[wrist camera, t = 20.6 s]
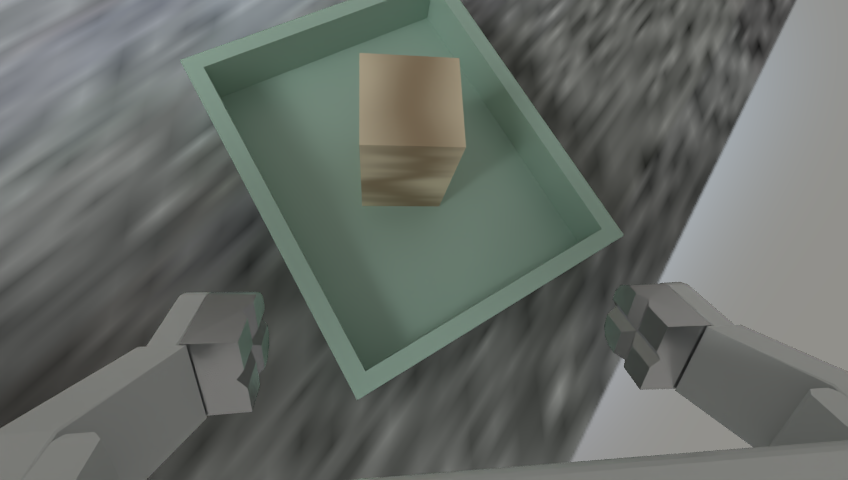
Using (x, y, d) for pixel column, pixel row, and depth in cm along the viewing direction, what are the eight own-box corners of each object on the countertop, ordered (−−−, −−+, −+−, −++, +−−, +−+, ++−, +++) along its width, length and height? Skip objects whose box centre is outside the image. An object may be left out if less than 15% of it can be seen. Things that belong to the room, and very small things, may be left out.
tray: (205, 100, 28) (179, 60, 25) (429, 13, 33) (437, -32, 29) (358, 394, 25) (357, 400, 21) (590, 251, 29) (624, 235, 25)
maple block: (362, 205, 27) (359, 144, 19) (362, 136, 28) (359, 52, 20) (439, 206, 27) (466, 147, 20) (435, 138, 29) (459, 58, 21)
